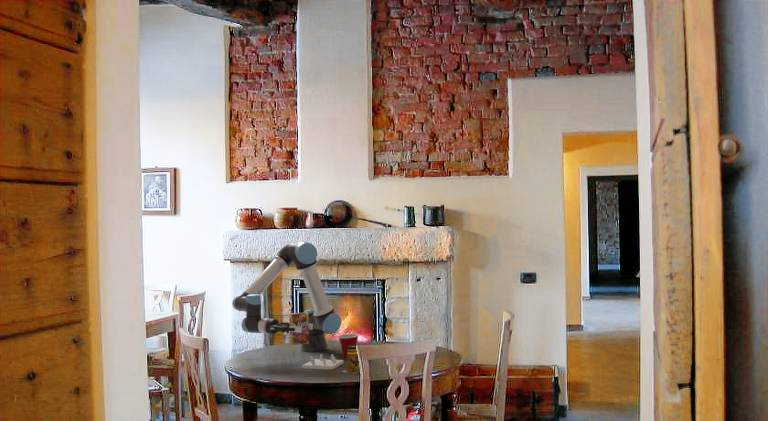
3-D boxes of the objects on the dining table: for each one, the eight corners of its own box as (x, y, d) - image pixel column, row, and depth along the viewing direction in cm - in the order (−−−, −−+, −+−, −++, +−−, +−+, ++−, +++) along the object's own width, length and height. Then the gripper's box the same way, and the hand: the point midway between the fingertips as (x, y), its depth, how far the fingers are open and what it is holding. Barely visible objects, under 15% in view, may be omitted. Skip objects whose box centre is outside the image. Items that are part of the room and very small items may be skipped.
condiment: (355, 373, 302) (355, 348, 302) (340, 372, 306) (340, 346, 306) (363, 370, 308) (363, 345, 309) (348, 369, 312) (348, 344, 313)
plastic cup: (336, 356, 345) (336, 334, 346) (356, 355, 348) (355, 332, 349) (340, 360, 335) (340, 337, 335) (360, 358, 338) (360, 335, 338)
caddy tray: (313, 362, 332) (313, 353, 332) (343, 363, 327) (343, 354, 327) (301, 368, 316) (301, 359, 316) (332, 369, 312) (332, 360, 312)
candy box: (291, 345, 313) (291, 314, 314) (289, 344, 317) (288, 313, 318) (309, 343, 317) (308, 312, 317) (306, 342, 321) (305, 311, 321)
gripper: (282, 330, 335) (318, 332, 325) (255, 336, 315) (294, 339, 305) (281, 315, 335) (318, 317, 325) (255, 321, 316) (293, 323, 306)
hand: (306, 328), depth 315 cm, fingers closed on candy box, 9 cm apart
